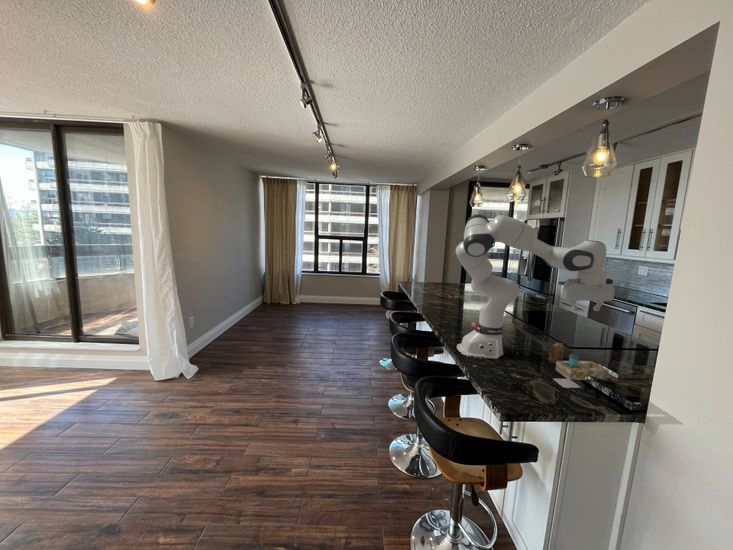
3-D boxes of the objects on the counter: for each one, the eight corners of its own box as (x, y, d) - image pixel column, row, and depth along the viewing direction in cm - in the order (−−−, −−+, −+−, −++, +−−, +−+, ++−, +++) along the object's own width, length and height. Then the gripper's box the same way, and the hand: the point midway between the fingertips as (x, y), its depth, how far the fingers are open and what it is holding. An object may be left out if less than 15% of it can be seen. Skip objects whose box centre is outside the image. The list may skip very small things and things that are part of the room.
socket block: (569, 381, 124) (571, 370, 123) (555, 371, 133) (556, 360, 132) (607, 382, 124) (609, 370, 123) (590, 371, 133) (592, 360, 132)
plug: (570, 375, 126) (572, 357, 125) (565, 371, 130) (567, 353, 128) (578, 375, 126) (580, 357, 125) (572, 371, 130) (575, 354, 128)
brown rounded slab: (553, 366, 137) (555, 349, 136) (545, 364, 140) (548, 347, 138) (564, 358, 147) (566, 342, 146) (557, 356, 149) (559, 340, 148)
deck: (563, 389, 118) (563, 387, 118) (552, 380, 125) (552, 378, 125) (581, 389, 118) (581, 387, 118) (568, 380, 125) (569, 378, 125)
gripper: (570, 279, 123) (565, 312, 126) (619, 280, 123) (614, 312, 126) (560, 277, 130) (556, 308, 132) (607, 278, 130) (602, 308, 132)
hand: (585, 310), depth 129 cm, fingers open, 8 cm apart
